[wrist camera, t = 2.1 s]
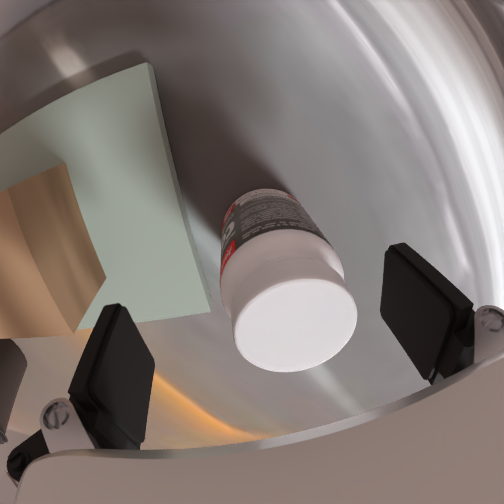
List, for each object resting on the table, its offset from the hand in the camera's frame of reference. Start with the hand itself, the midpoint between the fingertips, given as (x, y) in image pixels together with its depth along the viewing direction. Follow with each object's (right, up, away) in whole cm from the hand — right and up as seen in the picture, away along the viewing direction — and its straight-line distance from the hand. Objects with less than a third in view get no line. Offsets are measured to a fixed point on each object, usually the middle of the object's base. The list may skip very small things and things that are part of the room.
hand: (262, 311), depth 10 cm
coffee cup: (-25, -8, +10) cm, 28 cm away
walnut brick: (-13, +3, +4) cm, 14 cm away
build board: (-13, +3, +5) cm, 14 cm away
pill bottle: (0, +3, +6) cm, 7 cm away
